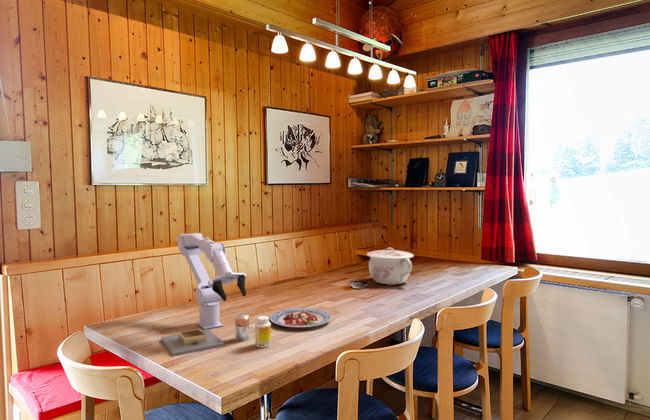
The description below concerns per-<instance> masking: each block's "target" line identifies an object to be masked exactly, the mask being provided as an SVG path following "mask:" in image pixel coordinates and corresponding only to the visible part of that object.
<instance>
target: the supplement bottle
mask: <svg viewBox="0 0 650 420" xmlns="http://www.w3.org/2000/svg"><path fill="white" fill-rule="evenodd" d="M269 319H270V317H269V316H268V315H267V316H266V315H261V316H258V317H257V319H256V320H257V321H256V322H255V325H254V326H255V327H254V329H255V331H254V333H255V337H254V338H255V346H256V347H257V348H262V349H263V348H267V347H270V346H271V344H272V323H271V321H269Z"/></svg>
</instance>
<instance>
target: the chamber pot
mask: <svg viewBox="0 0 650 420" xmlns="http://www.w3.org/2000/svg"><path fill="white" fill-rule="evenodd" d="M366 256H367V257H369V258H370V259H369V261H368V269H369V270H368V271H369V274H370V275H371V277H372V279H373V281H375V283H378V284H380V283H381V284H380V285H383V284H387V285H386V286H397V285H396V284H398V285H401V284H404V283H405V282H406V281H407V279H408V278H409V276H410V274H411V271H412V270H413V263H412V261H411V258H414V257H415V254H413V253H412V252H409V251H404V250H398V249H397V250H396V249H394V248H393V247H387V248H385V249H379V250H378V249H377V250H373V251H369V252H367V253H366Z"/></svg>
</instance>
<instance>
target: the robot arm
mask: <svg viewBox="0 0 650 420" xmlns="http://www.w3.org/2000/svg"><path fill="white" fill-rule="evenodd" d="M176 242H177V243H176V244H177V248H178V251H179V252H180V254H181V256H184V257H185V259H186V261H187V264H188V266H189V268H190V270H191V272H192V275H193V277H194V279H195V281H196V283H197V286H196V287H195V291H194V294H195V299H196V302H197V303H198V305H200V306H199V309H198V313H199V315H198V318H199V321H197V322H196V323H197V324H198V325H199V326H200V327H201V329H202V330H206V329H212V328H217V327H223V326H224V324H223V323H221V322H220V304H221V302H222V301H223V302H226V301H227V299H228V297H227V294H226V292H225V290H224V288H223V285H227V284H230V283H232V282H235V281H236V282H237V283H236V286H237V288H238V289H239V291H240V292H241V295H242V297H246V295H247V291H246V279H247V274H246V272H245V271H244V272H233V269H232V267H231V266H230V264H229V261H228V258H227V256H226V249H225V245H224V244H223V243H222V242H218V243H216V242H215V241H214V240H212V239H210V237H203V234H202V233H201V232H196V233H180V234H179V235H178V236H177V239H176ZM202 252H203V253H204V254H205V258H206V259H207V260H208V261H209V262H210V263H211V264H212V267H213V268H214V271H215V274H216V277H214V278H212V279H211V278H210V276H209V274H208V272H207V270H206V269H205V267H204V265H203V263H202V261H201V259H200V257H199V255H201V254H202Z"/></svg>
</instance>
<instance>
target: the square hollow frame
mask: <svg viewBox="0 0 650 420" xmlns="http://www.w3.org/2000/svg"><path fill="white" fill-rule="evenodd" d="M202 330H203V329H202V328H194V329H189V330H184V331H178V332H177V335H178V340H179V341H180V342H181V343H182V344H183V345H184V346H186V345H191V344H194V345H197V344H198V343H201V342H207V335H206V334H205V333H204V332H203V331H202Z"/></svg>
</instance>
